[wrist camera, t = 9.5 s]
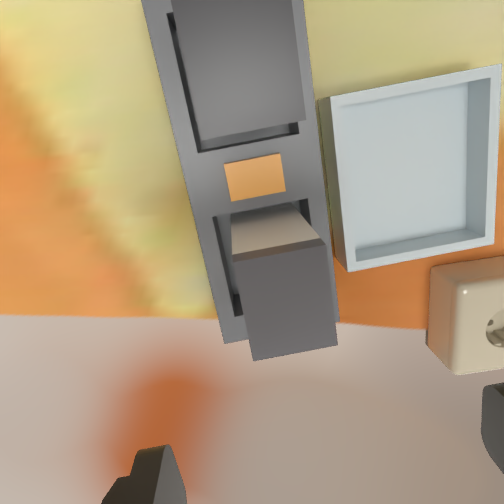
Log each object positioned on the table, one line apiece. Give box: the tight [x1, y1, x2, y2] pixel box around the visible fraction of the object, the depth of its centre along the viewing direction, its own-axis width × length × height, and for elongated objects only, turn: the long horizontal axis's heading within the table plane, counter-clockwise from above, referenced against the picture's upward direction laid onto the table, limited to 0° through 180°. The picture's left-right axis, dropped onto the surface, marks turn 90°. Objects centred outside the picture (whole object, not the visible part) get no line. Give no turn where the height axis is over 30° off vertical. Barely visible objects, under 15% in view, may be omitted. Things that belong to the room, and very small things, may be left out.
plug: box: [231, 202, 338, 361], centre depth 20 cm, size 4×5×9 cm
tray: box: [318, 64, 502, 272], centre depth 23 cm, size 10×11×3 cm
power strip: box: [141, 0, 340, 344], centre depth 19 cm, size 20×8×10 cm, turn 10°
